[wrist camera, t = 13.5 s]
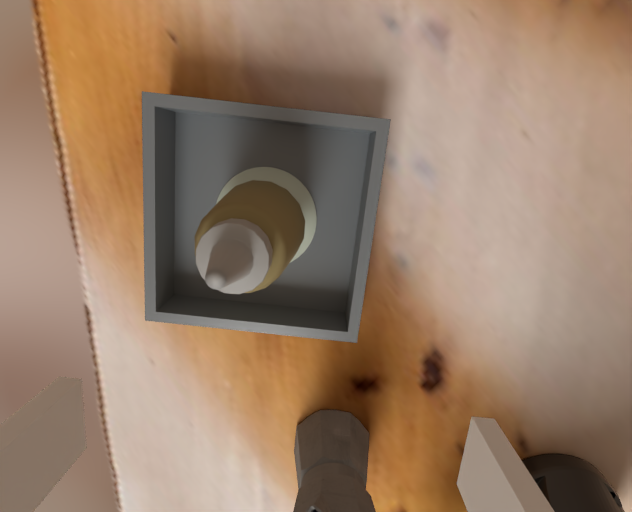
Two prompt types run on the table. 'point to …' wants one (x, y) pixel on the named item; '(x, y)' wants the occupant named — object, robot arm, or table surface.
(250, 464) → the table surface
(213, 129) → the bin
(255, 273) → the squeeze bottle
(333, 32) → the table surface
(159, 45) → the table surface
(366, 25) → the table surface
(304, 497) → the coffeepot
